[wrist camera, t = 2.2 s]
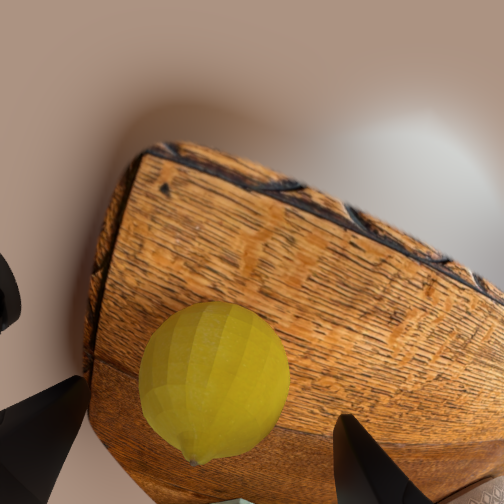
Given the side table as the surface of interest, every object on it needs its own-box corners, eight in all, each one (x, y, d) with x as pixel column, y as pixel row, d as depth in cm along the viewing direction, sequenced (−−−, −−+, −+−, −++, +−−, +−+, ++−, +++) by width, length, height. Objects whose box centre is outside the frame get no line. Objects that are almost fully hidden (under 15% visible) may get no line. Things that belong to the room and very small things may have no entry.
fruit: (160, 281, 13) (65, 394, 6) (275, 260, 13) (271, 398, 5) (195, 370, 15) (151, 492, 7) (295, 359, 14) (301, 498, 7)
